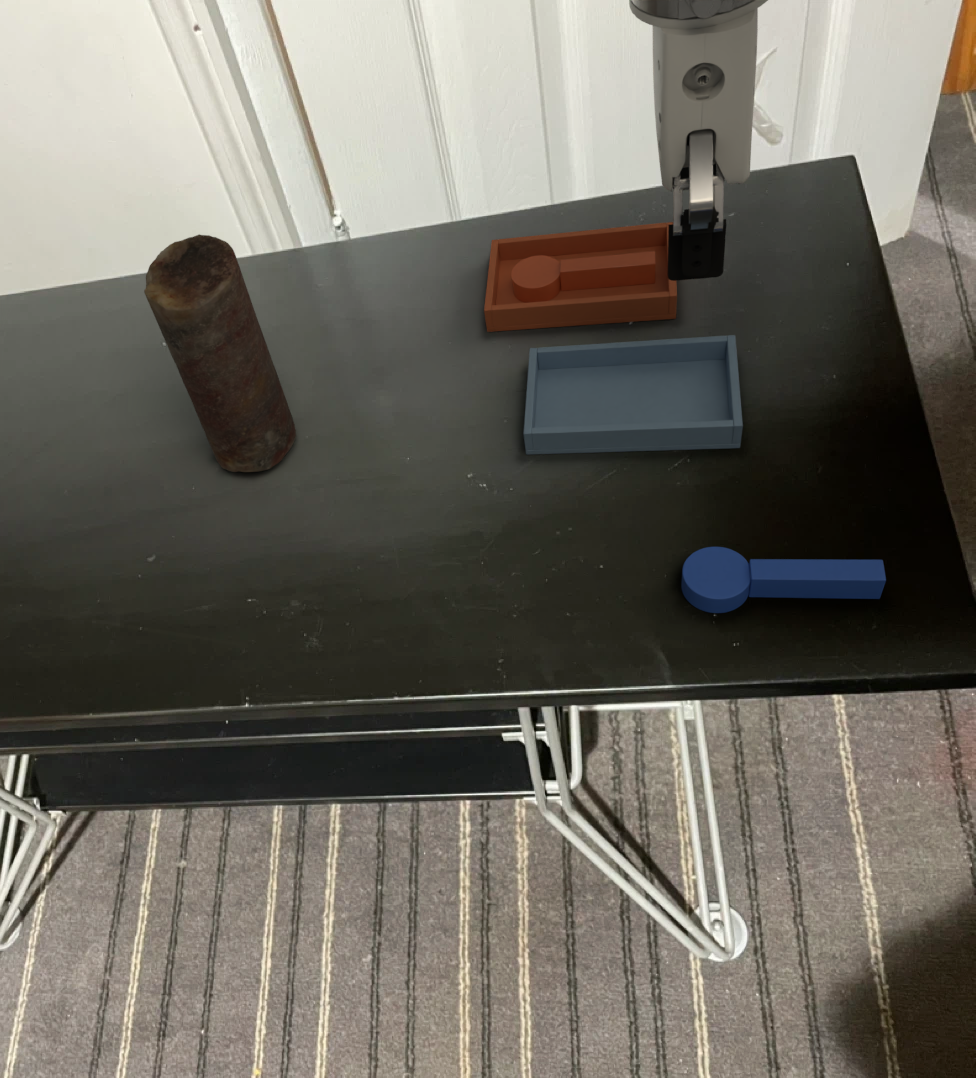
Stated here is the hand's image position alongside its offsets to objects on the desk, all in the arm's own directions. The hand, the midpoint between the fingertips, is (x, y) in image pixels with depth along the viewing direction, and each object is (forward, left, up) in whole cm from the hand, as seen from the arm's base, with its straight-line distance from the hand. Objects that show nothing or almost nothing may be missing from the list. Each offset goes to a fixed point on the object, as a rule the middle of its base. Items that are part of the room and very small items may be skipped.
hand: (693, 226), depth 68 cm
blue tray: (+4, +1, -16) cm, 16 cm away
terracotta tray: (+8, -13, -16) cm, 22 cm away
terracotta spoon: (+8, -13, -15) cm, 21 cm away
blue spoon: (-5, +18, -16) cm, 24 cm away
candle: (+34, +4, -16) cm, 38 cm away
